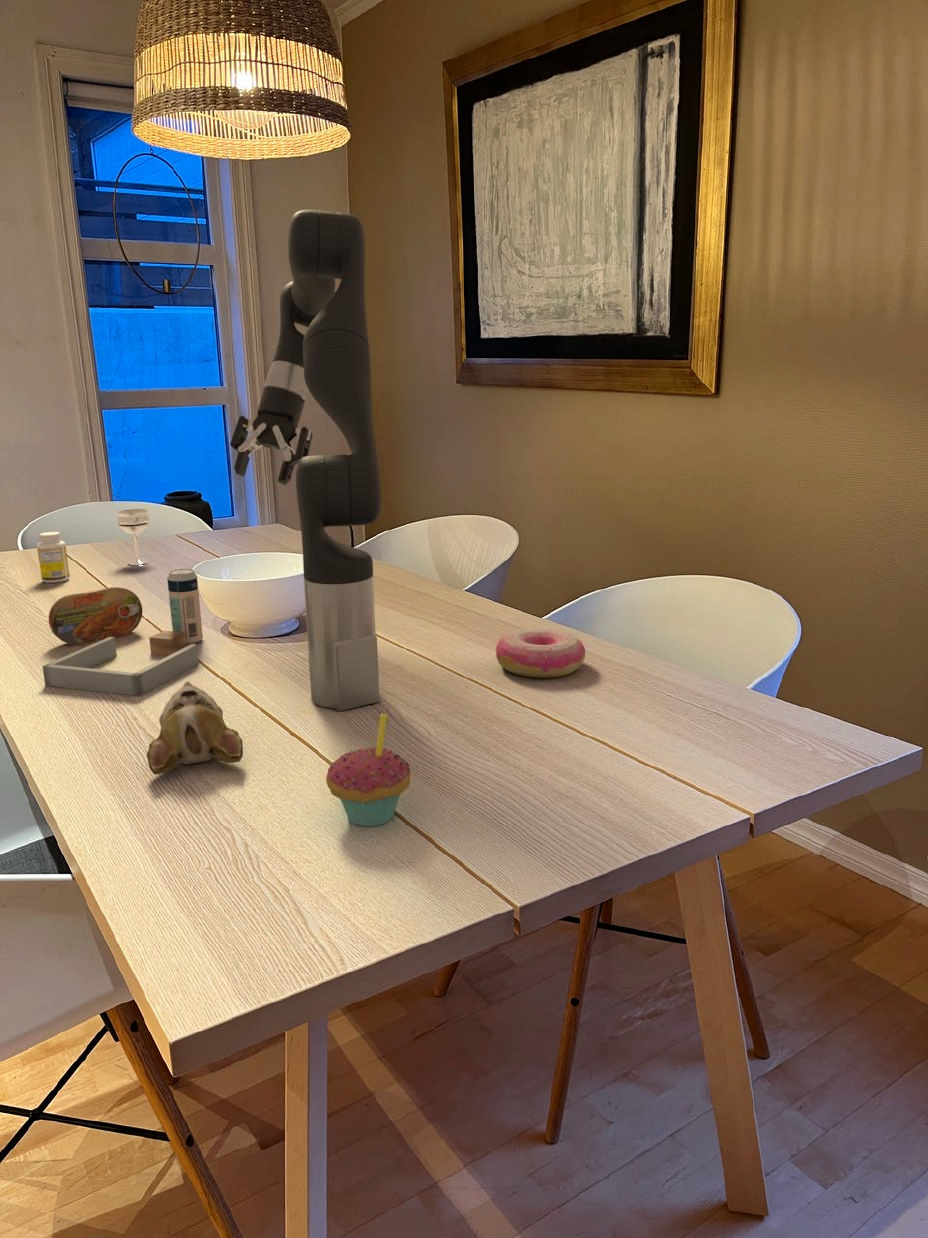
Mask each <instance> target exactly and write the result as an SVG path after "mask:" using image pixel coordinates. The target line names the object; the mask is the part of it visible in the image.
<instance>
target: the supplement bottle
mask: <svg viewBox="0 0 928 1238" xmlns="http://www.w3.org/2000/svg"><path fill="white" fill-rule="evenodd" d="M61 538H62V537H61V534H60V532H59V531H48V532H42V533H39V541H40V542H39V543H37V545H36V548H37V549H36V551H37V555H38V562H39V570H40V575H41V580H42V582H44V583H47V584H56V583H57V582H58V583H63V582H66V581H68V580H69V579H70V578H71V577H70V568H69V562H68V560H69V559H68V555H67V547H66V542H65V541H63V540H62V539H61Z"/></svg>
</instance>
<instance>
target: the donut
mask: <svg viewBox="0 0 928 1238" xmlns="http://www.w3.org/2000/svg"><path fill="white" fill-rule="evenodd" d="M495 656H496V660H497V662H498V664H499V665H500V666H501V667H502V668H503V669H505V670H506V671H508V672H510V673H511V674H515V675H518V676H524V677H529V678H541V679H542V678H543V679H544V678H545V679H546V678H559V677H564V676H567V675H570V674H571V673H574V672H575V671H577V670H578V669H579V668H580V667H581V666H582V664H583V663H584V661H585V657H586V649H585V646H584V644H583V642H582V641H581V640H580V639H579V638H578V637H576V636H575V635H574V634H571V633H569V632H566V631H563V630H557V629H548V628H547V629H546V628H528V629H527V628H526V629H519V630H515V631H514V630H513V631H510V632H508V633H506V634H505V635H503V636H502V637H501V638H500V639H499V640H498V642H497V644H496V647H495Z"/></svg>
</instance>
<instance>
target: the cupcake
mask: <svg viewBox="0 0 928 1238" xmlns="http://www.w3.org/2000/svg"><path fill="white" fill-rule="evenodd" d="M387 709H388V707H387V706H385V707H384V710H383V713H381V714H380V717H379V722H378V723H379V724H378V732H377V738H376V739H377V740H376V746H370V747H368V746H367V747H365V748H364V749H361V748H360V749H357V750H351V751H348V752H346V753H344V754H343V755H340V756H339V757H338V758H337V759H336V760H334V761H333V762H332V763H331V764H330V765H329V768H328V769H327V773H326V777H325V778H326V779H325V781H326V785H327V788H328V789H329V791H330V794H331V795H332V796H334V797H336V798H338V799H339V800H340V802H341V804H342V806H343V809H344V811H345V814H346V817H347V819H348V820H349V822H351V823H352V824H354V825H356V826H360V827H374V826H375V827H377V826H381V825H384V824H386V823H388V822H389V821H391V820H392V819H393V817H394V816H395V812H396V808H397V805H398V802H399V800H400V799H399V798H400V796H401V794H402V793H403V794H404V792H405V791H406V789H408V788H409V786H410V783H411V764H410V763H408V762H407V761H406V759H404V758H403V757H401V755H400V754H397V753H394V752H393V751H392V750H389V749H386V748H385V747H384V741H385V734H386V727H387V717H388V715H387V714H386V712H387Z"/></svg>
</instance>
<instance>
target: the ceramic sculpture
mask: <svg viewBox="0 0 928 1238" xmlns="http://www.w3.org/2000/svg"><path fill="white" fill-rule="evenodd" d="M223 712H224V711H223V709H222V708H221V707H220V706H219V705H218V704H217V702H216V701H215V699H214V698H213V697H212V696H211V695H209V693H207V692H206V691H205V690H203V689H201V688H199V687H197V686H195V685H194V684H192V683H191V682H190V681H188V680H187V681H185V683H183V685H182V686H181V687H180V688H179V689H178V690H177V691H175V692H174V693H173V694H172V696H171V697H170V699H169V700H168V701H167V702H166V703H165V706H164V708H163V711H162V713H161V714H160V715H159V718H158V721H159V725H160V731H159V735H158V737H157V738H155V739H153V740H152V741H151V742H150V743H149V745H148V750H147V752H146V758H147V763H148V766H149V767H148V768H149V771H151V772H152V773H153V775H159V774H165V773H167V772H169V771H172V770H174V768H175V767H176V766H177V765H178V763H180V764H185V765H193V764H199V763H204V762H209V761H210V760H212V759H213V758H214V757H215V758H216V759H217V761H220V762H222V763H229V764H230V763H239V762H241V760H242V758H243V755H244V752H243V751H244V747H243V745H244V744H243V739H242V737H241V736H240V734H239V732H238V731H237V730H235V729H233V728H230V727H228V726H227V725H226V724H225V720H224V713H223Z"/></svg>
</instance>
